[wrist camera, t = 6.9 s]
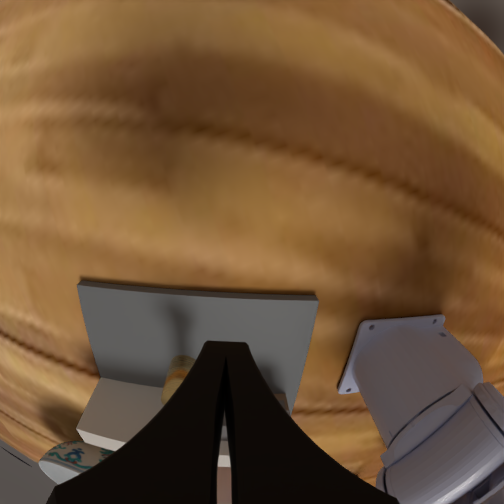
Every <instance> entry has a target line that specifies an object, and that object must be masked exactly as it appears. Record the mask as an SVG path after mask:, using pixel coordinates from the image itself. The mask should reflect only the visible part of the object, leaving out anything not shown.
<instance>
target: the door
mask: <svg viewBox="0 0 504 504" xmlns="http://www.w3.org/2000/svg"><path fill="white" fill-rule="evenodd" d="M77 289H78V294H79V299H80V304H81V308H82V313H83V317H84V321H85V326H86V329H87V333H88V337H89V341H90V344H91V348H92V351H93V355H94V358H95V361H96V364H97V367H98V370H99V373H100V376H101V378H100V380H99V382H98V384H97V386H96V388H95V390H94V392H93V394H92V396H91V398H90V400H89V402H88V404H87V406H86V408H85V410H84V412H83V414H82V416H81V419H80V421H79V423H78V425H77V427H76V429H77V431H78V433H79V434H80V436H81V437H82V439H83V440H84V442H86V443H89V444H92V445H95V446H99V447H102V448H105V449H109V450H113V451H116V450H118V449H119V448H120V447H122V446H123V445H124V444H125V443H127V442H128V441H129V440H130V439H131V438H132V437H134V436H135V435H136V434H137V433H138V432H139V431H140V430H141V429H142V428H143V427H144V426H145V425H146V424H148V422H149V421H150V420H151V419H152V418H153V417H154V416H155V415H156V414H157V413H158V412H159V411H160V410H161V409H162V407H163V406H164V405H163V404H162V402H161V395H162V391H163V387H164V384H165V380H166V376H167V373H168V369H169V365H170V362H171V360H172V358H173V357H175V356H178V355H186V356H190V357H192V358H194V359H195V360H196V359H197V357H198V356H199V354H200V352H201V349H202V347H203V345H204V343H205V342H206V341H207V340H211V341H230V342H246V343H247V344H248V345H249V348H250V351H251V354H252V356H253V358H254V361H255V363H256V365H257V367H258V369H259V371H260V372H261V374H262V376H263V378H264V379H265V381H266V383H267V384H268V386H269V388H270V389H271V391H272V392H273V394H274V395H275V397H276V398H277V400H278V401H279V403H280V404H281V405H282V407H283V408H284V409H285V411H286V410H289V414H290V417H291V413H292V410H293V406H294V403H295V399H296V396H297V392H298V388H299V385H300V381H301V377H302V373H303V369H304V365H305V361H306V357H307V353H308V349H309V345H310V340H311V336H312V332H313V327H314V322H315V318H316V313H317V308H318V303H319V300H318V298H317V296H316V295H277V294H250V293H228V292H210V291H193V290H179V289H165V288H153V287H141V286H130V285H119V284H109V283H100V282H91V281H81V282H80V283H78V284H77ZM218 467H231V466H230V457H229V448H228V439H227V429H226V419H225V411H224V419H223V427H222V435H221V443H220V451H219V459H218Z"/></svg>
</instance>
